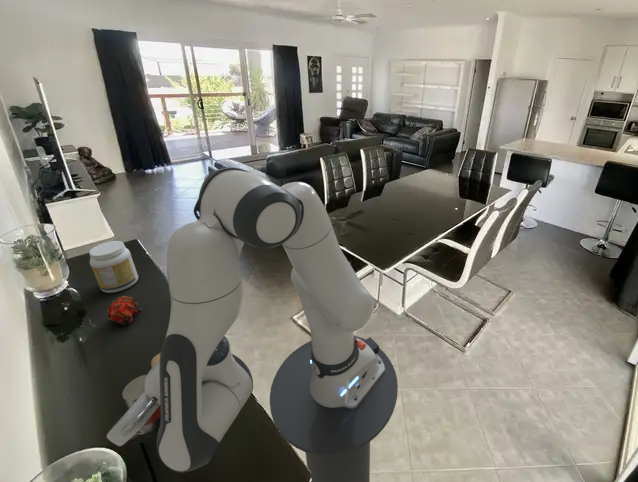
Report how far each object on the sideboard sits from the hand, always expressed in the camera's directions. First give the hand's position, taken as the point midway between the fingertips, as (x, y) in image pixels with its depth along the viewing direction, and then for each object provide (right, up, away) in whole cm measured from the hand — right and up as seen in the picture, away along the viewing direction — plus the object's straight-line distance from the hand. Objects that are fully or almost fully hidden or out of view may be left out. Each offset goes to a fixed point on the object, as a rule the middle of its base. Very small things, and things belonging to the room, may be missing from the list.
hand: (143, 401), depth 72 cm
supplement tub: (-49, +12, +56) cm, 75 cm away
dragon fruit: (-34, +4, +39) cm, 52 cm away
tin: (+1, -5, +2) cm, 6 cm away
